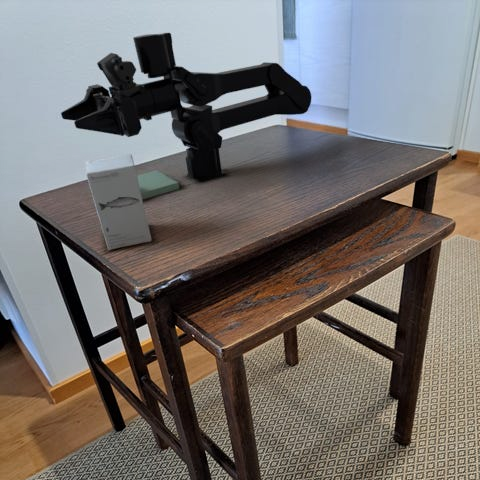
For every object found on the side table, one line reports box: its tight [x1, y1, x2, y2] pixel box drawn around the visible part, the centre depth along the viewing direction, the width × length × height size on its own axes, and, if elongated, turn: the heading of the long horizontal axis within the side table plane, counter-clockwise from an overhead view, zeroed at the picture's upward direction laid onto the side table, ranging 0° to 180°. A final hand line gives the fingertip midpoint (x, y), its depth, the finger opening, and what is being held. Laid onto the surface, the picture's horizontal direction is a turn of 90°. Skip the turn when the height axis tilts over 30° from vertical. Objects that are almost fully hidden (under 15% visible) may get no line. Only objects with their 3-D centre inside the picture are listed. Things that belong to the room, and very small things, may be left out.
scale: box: [137, 170, 180, 200], centre depth 94 cm, size 14×13×3 cm
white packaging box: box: [85, 154, 153, 251], centre depth 72 cm, size 7×7×13 cm
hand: (68, 120), depth 80 cm, fingers open, 9 cm apart
